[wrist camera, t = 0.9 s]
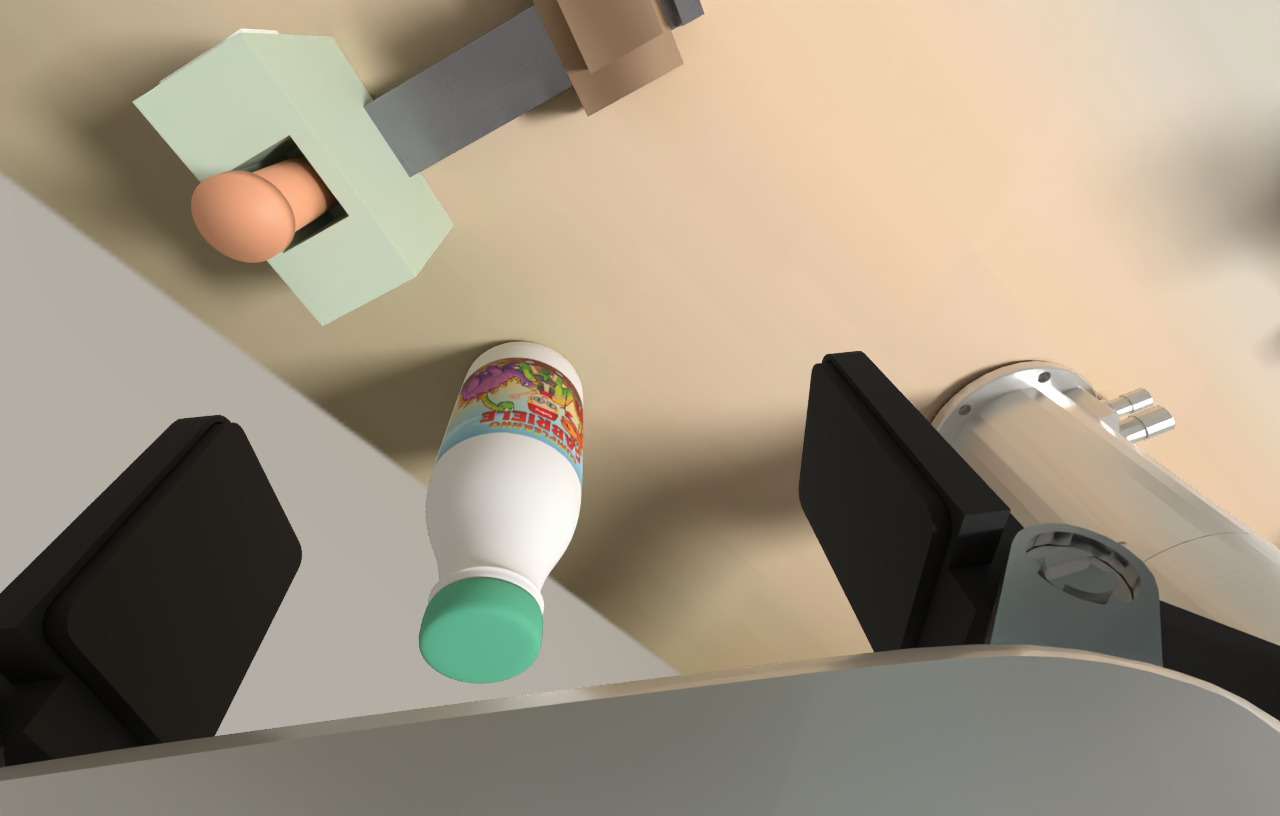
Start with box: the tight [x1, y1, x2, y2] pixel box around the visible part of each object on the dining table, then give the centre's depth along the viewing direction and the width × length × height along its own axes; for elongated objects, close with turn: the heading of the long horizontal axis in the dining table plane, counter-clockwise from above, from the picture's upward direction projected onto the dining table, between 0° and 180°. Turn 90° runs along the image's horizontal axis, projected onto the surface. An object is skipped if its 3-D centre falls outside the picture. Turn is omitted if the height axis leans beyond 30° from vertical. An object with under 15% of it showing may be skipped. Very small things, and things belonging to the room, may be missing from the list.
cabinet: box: [133, 29, 454, 326], centre depth 28 cm, size 5×10×9 cm, turn 26°
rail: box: [363, 0, 704, 177], centre depth 28 cm, size 16×4×4 cm, turn 116°
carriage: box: [533, 0, 683, 116], centre depth 25 cm, size 5×6×9 cm
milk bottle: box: [419, 341, 583, 684], centre depth 31 cm, size 8×8×20 cm
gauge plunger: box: [191, 154, 339, 263], centre depth 24 cm, size 3×3×7 cm
